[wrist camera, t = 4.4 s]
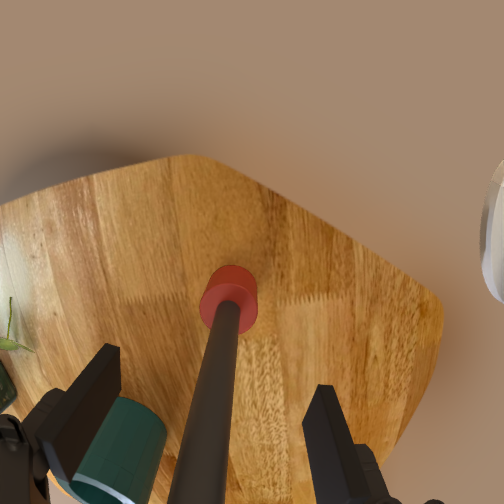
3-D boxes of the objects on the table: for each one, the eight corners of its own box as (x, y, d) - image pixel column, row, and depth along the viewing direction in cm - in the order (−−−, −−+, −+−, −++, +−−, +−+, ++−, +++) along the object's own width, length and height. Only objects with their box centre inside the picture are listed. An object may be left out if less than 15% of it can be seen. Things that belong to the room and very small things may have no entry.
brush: (261, 270, 27) (290, 576, 3) (251, 314, 28) (250, 595, 4) (212, 260, 26) (87, 541, 3) (205, 305, 27) (117, 572, 4)
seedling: (38, 305, 33) (33, 350, 31) (-11, 291, 27) (-16, 337, 25) (43, 305, 28) (37, 358, 26) (-15, 287, 23) (-21, 343, 21)
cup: (168, 409, 30) (139, 495, 18) (166, 455, 33) (146, 528, 20) (91, 386, 30) (43, 456, 17) (100, 435, 32) (67, 499, 20)
